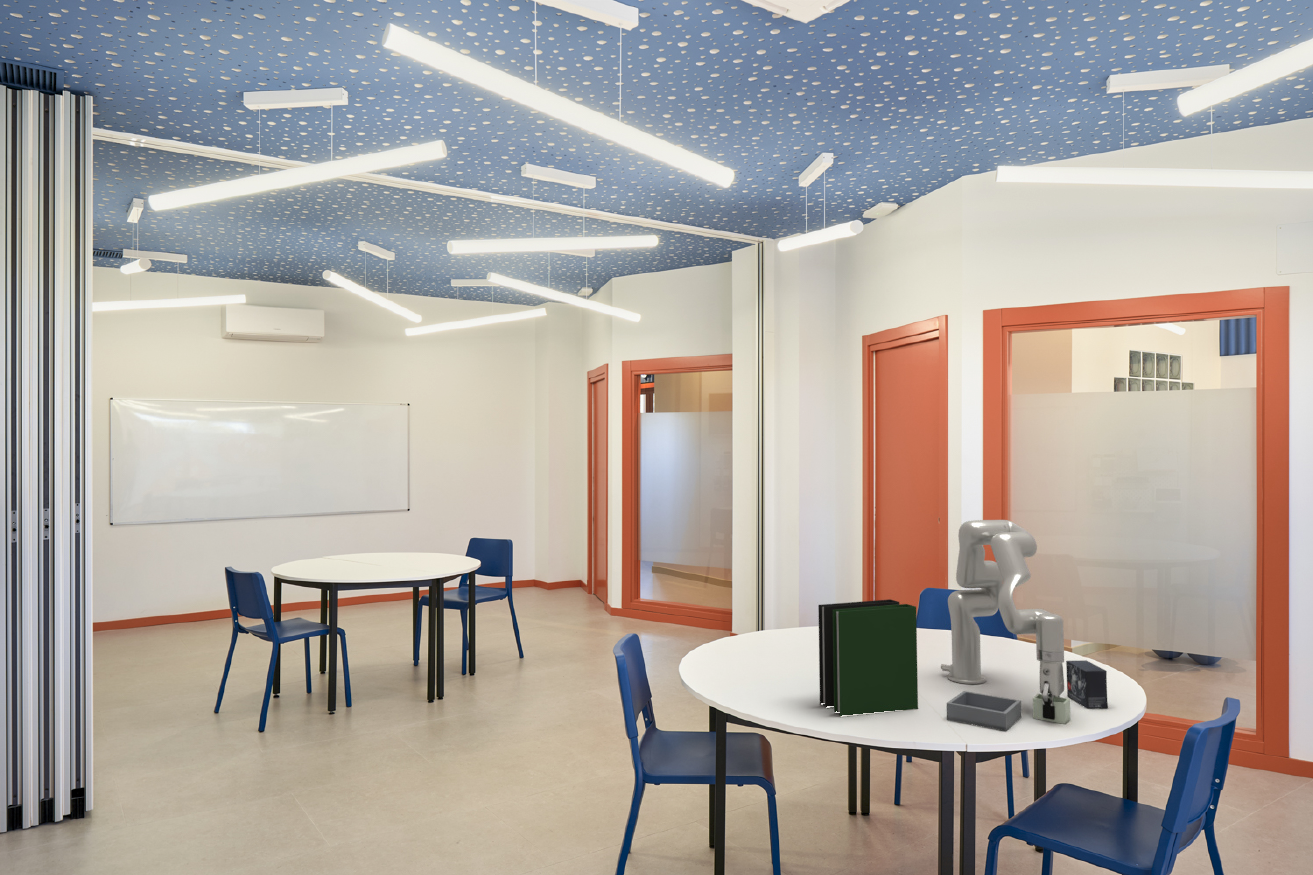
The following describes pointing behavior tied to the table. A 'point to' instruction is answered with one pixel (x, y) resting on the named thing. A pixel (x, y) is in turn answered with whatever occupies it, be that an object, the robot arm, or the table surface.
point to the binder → (868, 656)
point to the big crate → (984, 710)
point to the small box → (1087, 684)
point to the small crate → (1060, 709)
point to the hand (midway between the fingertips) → (1051, 715)
